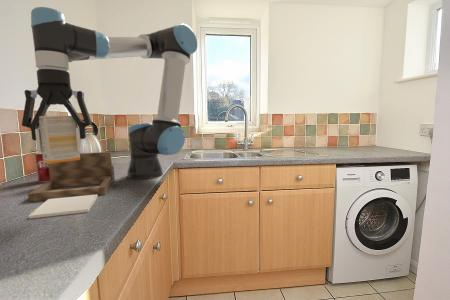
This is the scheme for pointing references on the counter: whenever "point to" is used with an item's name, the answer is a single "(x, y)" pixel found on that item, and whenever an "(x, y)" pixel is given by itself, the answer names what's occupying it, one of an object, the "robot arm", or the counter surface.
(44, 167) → the soda can
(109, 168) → the walnut case
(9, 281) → the counter surface
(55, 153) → the supplement box
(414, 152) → the counter surface
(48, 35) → the robot arm
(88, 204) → the off-white pad
